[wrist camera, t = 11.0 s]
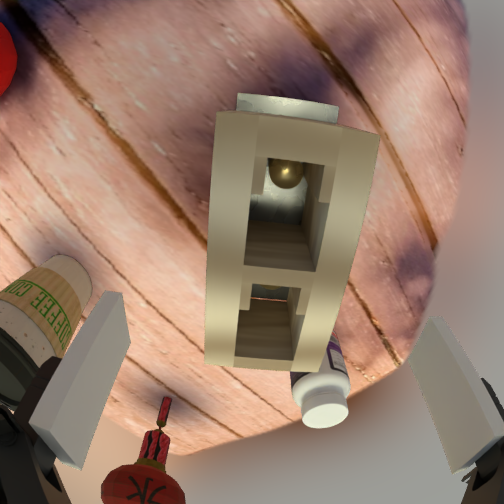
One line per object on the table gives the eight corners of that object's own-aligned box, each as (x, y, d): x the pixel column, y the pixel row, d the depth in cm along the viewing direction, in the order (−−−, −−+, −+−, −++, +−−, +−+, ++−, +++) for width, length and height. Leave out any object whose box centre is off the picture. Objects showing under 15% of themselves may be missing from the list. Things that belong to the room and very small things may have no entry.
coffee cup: (107, 250, 28) (20, 359, 14) (108, 327, 32) (53, 434, 18) (30, 229, 27) (-65, 309, 13) (39, 303, 31) (-27, 390, 18)
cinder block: (229, 110, 20) (216, 111, 14) (344, 125, 20) (380, 135, 14) (215, 305, 27) (204, 363, 21) (307, 313, 27) (318, 372, 21)
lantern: (137, 366, 35) (68, 596, 8) (210, 390, 36) (181, 625, 9) (130, 404, 39) (79, 589, 12) (193, 424, 40) (165, 613, 13)
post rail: (240, 94, 22) (232, 89, 16) (331, 106, 22) (355, 107, 16) (224, 278, 29) (216, 324, 23) (300, 285, 29) (309, 331, 23)
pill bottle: (286, 360, 33) (292, 434, 25) (287, 324, 31) (295, 401, 22) (334, 358, 33) (350, 429, 24) (340, 321, 31) (362, 395, 22)
